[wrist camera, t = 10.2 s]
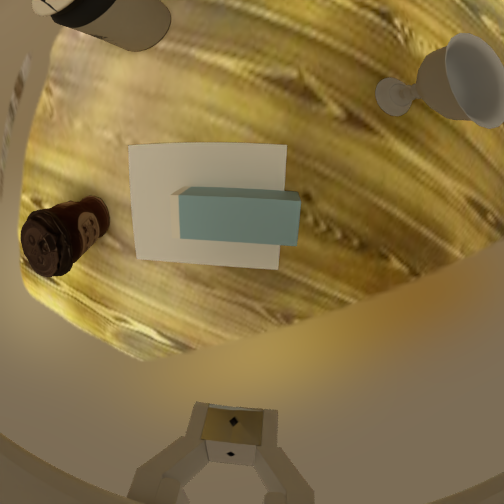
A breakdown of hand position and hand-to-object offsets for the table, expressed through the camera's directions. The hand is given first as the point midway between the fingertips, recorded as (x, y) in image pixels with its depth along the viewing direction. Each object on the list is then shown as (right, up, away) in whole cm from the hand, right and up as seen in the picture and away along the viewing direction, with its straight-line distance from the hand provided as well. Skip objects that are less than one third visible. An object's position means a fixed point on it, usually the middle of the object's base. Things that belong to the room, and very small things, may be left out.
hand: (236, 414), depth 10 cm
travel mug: (-14, +36, +18) cm, 42 cm away
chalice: (+18, +25, +19) cm, 36 cm away
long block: (+6, +10, +23) cm, 26 cm away
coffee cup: (-23, +11, +29) cm, 38 cm away
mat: (-6, +12, +27) cm, 30 cm away
